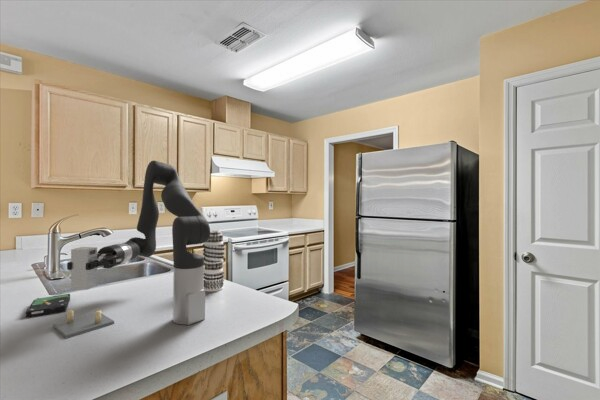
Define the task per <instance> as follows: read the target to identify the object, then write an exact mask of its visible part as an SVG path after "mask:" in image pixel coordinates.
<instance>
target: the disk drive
mask: <svg viewBox="0 0 600 400" xmlns="http://www.w3.org/2000/svg"><path fill="white" fill-rule="evenodd" d="M70 301H71V293H65V294H59V295H52V296H46V297H40V298H35V299H33V300H32V302H31V304H30V305H29V307H28V308H27V310H26V311H25V319H30V318H36V317H41V316H48V315H53V314H54V315H55V314H61V313H67V311H68V306H69V304H70Z"/></svg>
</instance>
